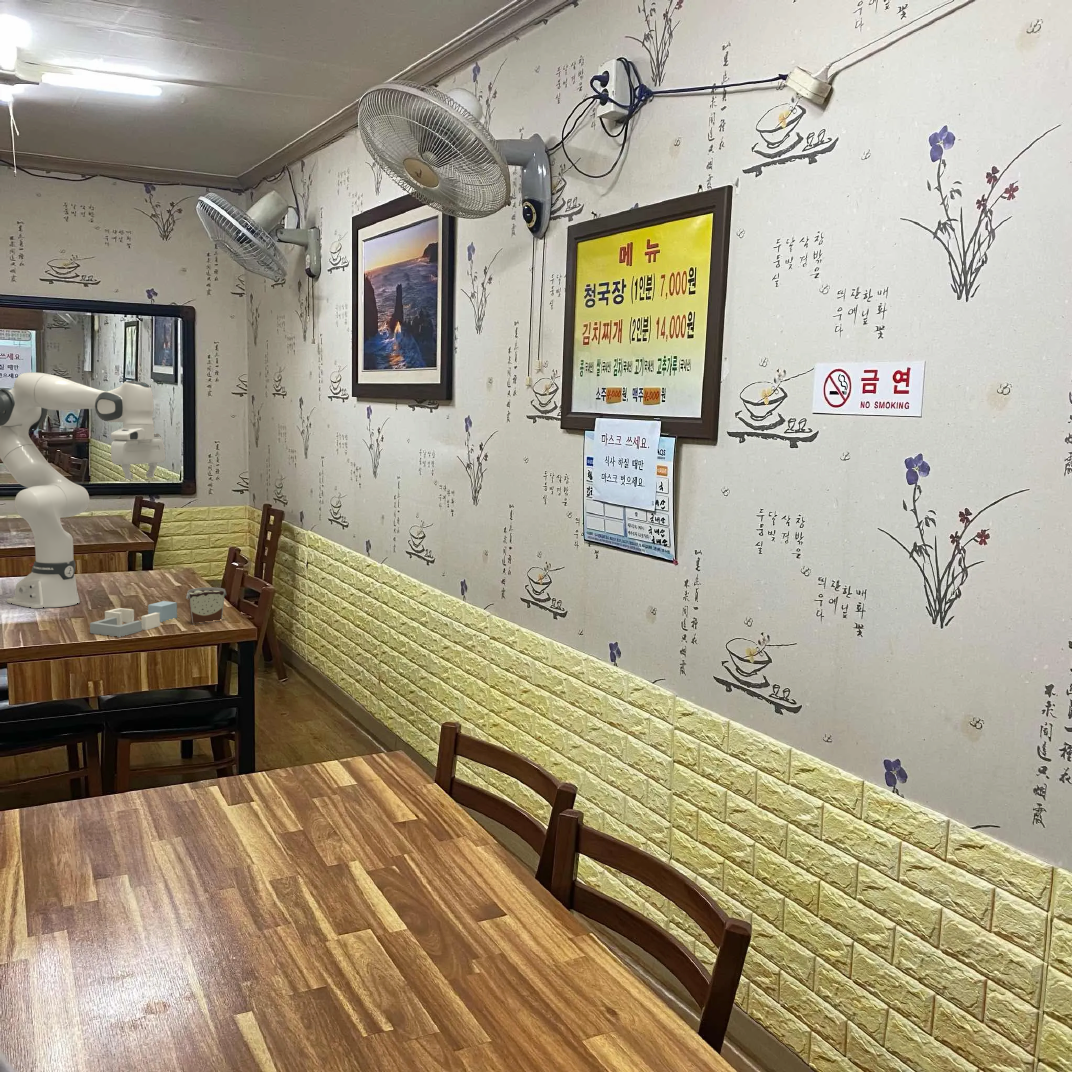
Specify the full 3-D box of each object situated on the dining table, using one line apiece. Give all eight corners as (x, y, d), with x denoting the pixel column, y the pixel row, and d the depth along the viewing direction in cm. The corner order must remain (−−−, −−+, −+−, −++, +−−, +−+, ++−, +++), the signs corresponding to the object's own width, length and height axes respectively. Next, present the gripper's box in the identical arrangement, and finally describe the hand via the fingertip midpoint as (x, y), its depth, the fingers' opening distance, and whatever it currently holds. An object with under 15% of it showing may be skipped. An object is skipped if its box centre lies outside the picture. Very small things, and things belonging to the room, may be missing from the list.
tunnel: (105, 624, 292) (104, 611, 292) (119, 620, 298) (119, 607, 297) (145, 629, 288) (145, 616, 287) (159, 625, 293) (159, 612, 293)
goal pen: (90, 633, 281) (89, 623, 281) (112, 627, 290) (112, 617, 289) (119, 637, 278) (119, 627, 277) (141, 630, 286) (141, 620, 286)
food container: (218, 616, 309) (218, 585, 308) (226, 620, 304) (226, 588, 303) (179, 621, 301) (179, 589, 299) (187, 624, 296) (187, 592, 295)
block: (148, 620, 300) (148, 604, 299) (163, 616, 307) (163, 600, 306) (161, 622, 298) (161, 606, 298) (176, 618, 305) (176, 602, 304)
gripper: (153, 433, 312) (154, 476, 314) (106, 433, 293) (107, 479, 295) (169, 433, 310) (170, 476, 312) (123, 434, 291) (124, 480, 293)
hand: (139, 478), depth 303 cm, fingers open, 8 cm apart
